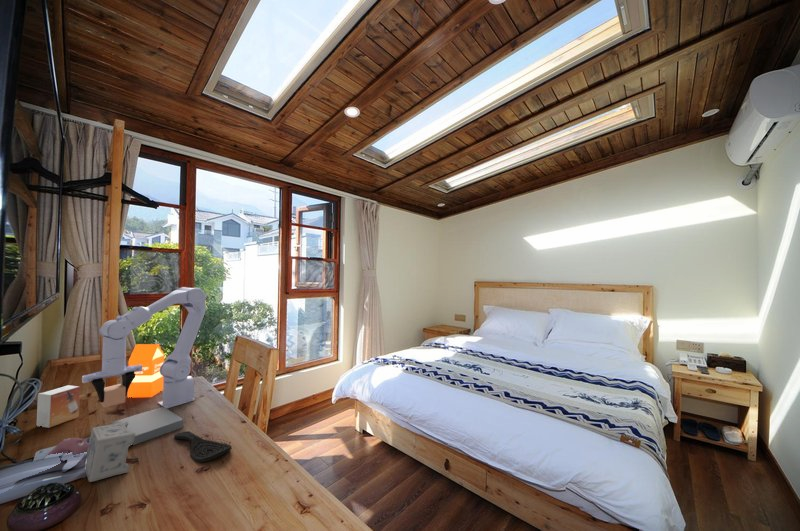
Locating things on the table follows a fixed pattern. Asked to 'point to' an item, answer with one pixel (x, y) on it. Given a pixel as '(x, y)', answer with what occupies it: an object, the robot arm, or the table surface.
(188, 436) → the hairbrush
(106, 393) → the terracotta block
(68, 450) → the pink rounded lump
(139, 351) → the orange juice
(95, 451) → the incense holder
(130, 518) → the table surface
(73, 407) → the small box
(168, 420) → the plinth
